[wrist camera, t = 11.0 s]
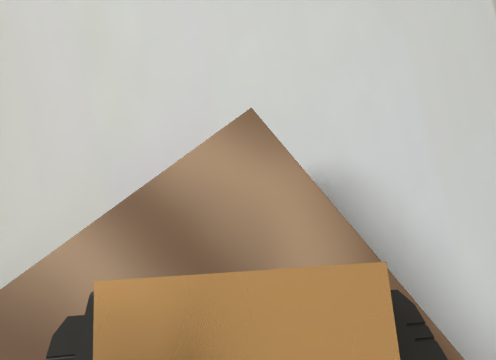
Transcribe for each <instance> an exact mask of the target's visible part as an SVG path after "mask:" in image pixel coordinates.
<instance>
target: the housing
mask: <svg viewBox="0 0 496 360" xmlns="http://www.w3.org/2000/svg"><path fill="white" fill-rule="evenodd" d="M93 360H400V354H399V347H398V340H397V333H396V326H395V319H394V312H393V305H392V298H391V291H390V284H389V277H388V270H387V264H386V262H376V263H361V264H346V265H331V266H317V267H302V268H287V269H272V270H257V271H242V272H227V273H212V274H197V275H182V276H167V277H152V278H138V279H123V280H108V281H94V321H93Z"/></svg>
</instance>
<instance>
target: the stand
mask: <svg viewBox="0 0 496 360" xmlns="http://www.w3.org/2000/svg"><path fill="white" fill-rule="evenodd" d="M376 262H381V260H380V259H379V258H378V257H377V256H376V255H375V253H374V252H373V251H372V250H371V249H370V247H369V246H368V245H367V244H366V243H365V242H364V240H363V239H362V238H361V237H360V236H359V234H358V233H357V232H356V231H355V230H354V229H353V227H352V226H351V225H350V224H349V223H348V221H347V220H346V219H345V218H344V217H343V216H342V214H341V213H340V212H339V211H338V210H337V208H336V207H335V206H334V205H333V204H332V203H331V201H330V200H329V199H328V198H327V197H326V195H325V194H324V193H323V192H322V191H321V190H320V188H319V187H318V186H317V185H316V184H315V182H314V181H313V180H312V179H311V178H310V177H309V175H308V174H307V173H306V172H305V171H304V169H303V168H302V167H301V166H300V165H299V163H298V162H297V161H296V160H295V159H294V158H293V156H292V155H291V154H290V153H289V152H288V150H287V149H286V148H285V147H284V146H283V145H282V143H281V142H280V141H279V140H278V139H277V137H276V136H275V135H274V134H273V133H272V132H271V130H270V129H269V128H268V127H267V126H266V124H265V123H264V122H263V121H262V120H261V119H260V117H259V116H258V115H257V114H256V113H255V111H254V110H253V109H252V108H250V109H249V110H247V111H246V112H245V113H243V114H242V115H240V116H239V117H238V118H236V119H235V120H234V121H232V122H231V123H229V124H228V125H227V126H225V127H224V128H223V129H221V130H220V131H218V132H217V133H216V134H214V135H213V136H212V137H210V138H209V139H207V140H206V141H205V142H203V143H202V144H200V145H199V146H198V147H196V148H195V149H194V150H192V151H191V152H189V153H188V154H187V155H185V156H184V157H183V158H181V159H180V160H178V161H177V162H176V163H174V164H173V165H172V166H170V167H169V168H167V169H166V170H165V171H163V172H162V173H160V174H159V175H158V176H156V177H155V178H154V179H152V180H151V181H149V182H148V183H147V184H145V185H144V186H143V187H141V188H140V189H138V190H137V191H136V192H134V193H133V194H132V195H130V196H129V197H127V198H126V199H125V200H123V201H122V202H120V203H119V204H118V205H116V206H115V207H114V208H112V209H111V210H109V211H108V212H107V213H105V214H104V215H103V216H101V217H100V218H98V219H97V220H96V221H94V222H93V223H92V224H90V225H89V226H87V227H86V228H85V229H83V230H82V231H80V232H79V233H78V234H76V235H75V236H74V237H72V238H71V239H69V240H68V241H67V242H65V243H64V244H63V245H61V246H60V247H58V248H57V249H56V250H54V251H53V252H52V253H50V254H49V255H47V256H46V257H45V258H43V259H42V260H41V261H39V262H38V263H36V264H35V265H34V266H32V267H31V268H29V269H28V270H27V271H25V272H24V273H23V274H21V275H20V276H18V277H17V278H16V279H14V280H13V281H12V282H10V283H9V284H7V285H6V286H5V287H3V288H2V289H1V290H0V360H46V355H47V352H48V349H49V345H50V342H51V339H52V335H53V334H54V333H55V332H56V330H57V329H58V328H59V327H60V325H61V324H62V323H63V321H64V320H65V319H66V318H67V316H77V315H85V311H86V307H87V303H88V299H89V295H90V293H91V292H92V291H94V281H108V280H123V279H138V278H152V277H167V276H182V275H197V274H212V273H227V272H242V271H257V270H272V269H287V268H302V267H317V266H331V265H346V264H361V263H376ZM387 270H388V269H387ZM388 277H389V284H390V290H397V289H398V290H399V291H400V292H401V293H402V294H403V295H404V296H406V297H407V298H408V299H409V300H410V301H411V302H413V303H414V304H415V306H416V307H417V309H418V311H419V312H420V314H421V316H422V317H423V319H424V321H425V325H426V326H428V327H429V329H430V331H431V332H432V334H433V336H434V340H435V341H437V342H438V344H439V346H440V347H441V349H442V350H443V352H444V354H445V355H446V357H447V359H448V360H464V359H463V357H462V356H461V355H460V354H459V353H458V352H457V350H456V349H455V348H454V347H453V346H452V344H451V343H450V342H449V341H448V340H447V339H446V337H445V336H444V335H443V334H442V333H441V331H440V330H439V329H438V328H437V327H436V326H435V324H434V323H433V322H432V321H431V320H430V318H429V317H428V316H427V315H426V314H425V313H424V311H423V310H422V309H421V308H420V307H419V305H418V304H417V303H416V302H415V301H414V300H413V298H412V297H411V296H410V295H409V294H408V292H407V291H406V290H405V289H404V288H403V286H402V285H401V284H400V283H399V282H398V281H397V279H396V278H395V277H394V276H393V275H392V273H391V272H390V271H389V270H388Z"/></svg>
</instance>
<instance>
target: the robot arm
mask: <svg viewBox="0 0 496 360" xmlns="http://www.w3.org/2000/svg"><path fill="white" fill-rule="evenodd" d="M390 291H391V298H392V305H393V312H394V319H395V326H396V333H397V340H398V347H399V354H400V360H448V359H447V357H446V355H445V354H444V352H443V350H442V349H441V347H440V346H439V344H438V342H437V341H435V340H434V336H433V334H432V332H431V331H430V329H429V327H428V326H426V325H425V321H424V319H423V317H422V316H421V314H420V312H419V311H418V309H417V307H416V306H415V304H414V303H413V302H411V301H410V300H409V299H408V298H407V297H406V296H404V295H403V294H402V293H401V292H400V291H399V290H398V289H397V290H390ZM93 321H94V291H92V292H91V293H90V295H89V299H88V303H87V307H86V311H85V315H77V316H67V318H66V319H65V320H64V321H63V323H62V324H61V325H60V327H59V328H58V329H57V330H56V332H55V333H54V334H53V335H52V339H51V342H50V345H49V349H48V352H47V355H46V360H93Z"/></svg>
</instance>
